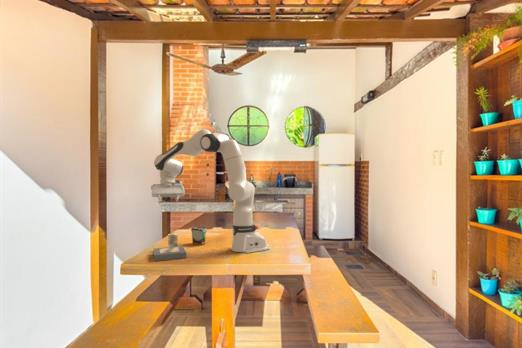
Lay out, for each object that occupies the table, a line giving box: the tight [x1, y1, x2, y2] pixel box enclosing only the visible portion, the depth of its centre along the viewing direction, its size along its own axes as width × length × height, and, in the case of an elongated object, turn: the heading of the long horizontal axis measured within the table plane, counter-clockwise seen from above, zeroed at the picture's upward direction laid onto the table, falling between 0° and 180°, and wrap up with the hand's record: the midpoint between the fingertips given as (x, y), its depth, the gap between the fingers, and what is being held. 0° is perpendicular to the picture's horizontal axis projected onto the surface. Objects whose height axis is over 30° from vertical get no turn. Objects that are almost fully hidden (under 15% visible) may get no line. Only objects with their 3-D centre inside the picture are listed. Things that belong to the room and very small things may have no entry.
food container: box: [190, 226, 208, 246], centre depth 214 cm, size 12×6×10 cm, turn 47°
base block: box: [152, 245, 187, 262], centre depth 184 cm, size 16×16×3 cm
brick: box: [167, 232, 179, 247], centre depth 198 cm, size 5×5×9 cm
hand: (169, 201), depth 211 cm, fingers open, 8 cm apart
